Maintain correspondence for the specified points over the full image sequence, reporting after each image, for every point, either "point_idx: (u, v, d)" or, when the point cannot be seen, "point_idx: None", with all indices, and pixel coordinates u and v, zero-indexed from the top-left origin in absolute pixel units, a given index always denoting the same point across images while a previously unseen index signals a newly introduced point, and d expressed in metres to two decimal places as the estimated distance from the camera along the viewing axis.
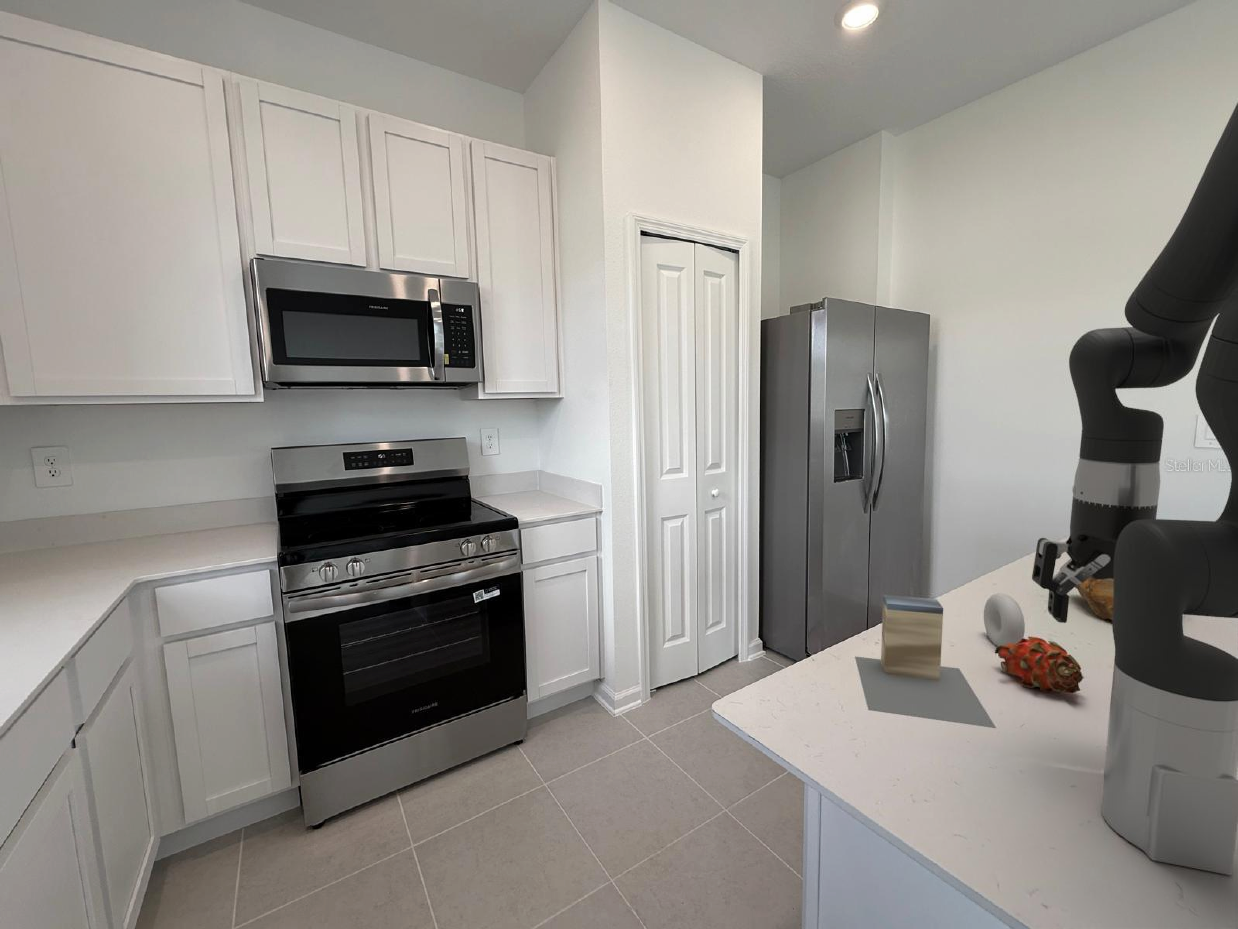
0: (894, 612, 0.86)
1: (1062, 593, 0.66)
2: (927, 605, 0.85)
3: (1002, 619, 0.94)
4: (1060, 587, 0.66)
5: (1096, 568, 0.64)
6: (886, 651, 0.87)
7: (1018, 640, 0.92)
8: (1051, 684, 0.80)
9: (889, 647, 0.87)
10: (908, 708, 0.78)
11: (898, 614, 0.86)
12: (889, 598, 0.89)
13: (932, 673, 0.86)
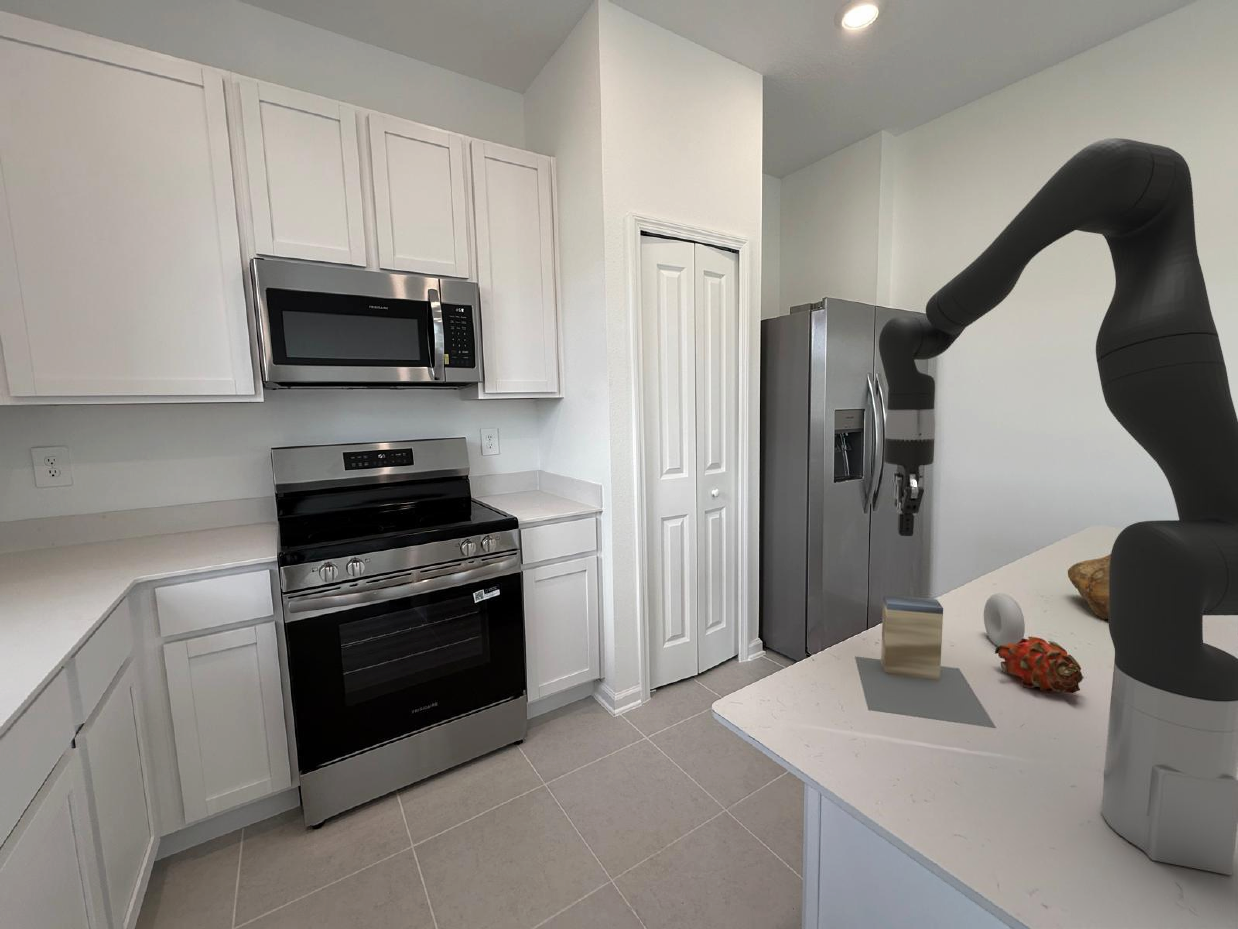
0: (894, 612, 0.86)
1: (915, 513, 0.91)
2: (927, 605, 0.85)
3: (1002, 619, 0.94)
4: None
5: None
6: (886, 651, 0.87)
7: (1018, 640, 0.92)
8: (1051, 684, 0.80)
9: (889, 647, 0.87)
10: (908, 708, 0.78)
11: (898, 614, 0.86)
12: (889, 598, 0.89)
13: (932, 673, 0.86)
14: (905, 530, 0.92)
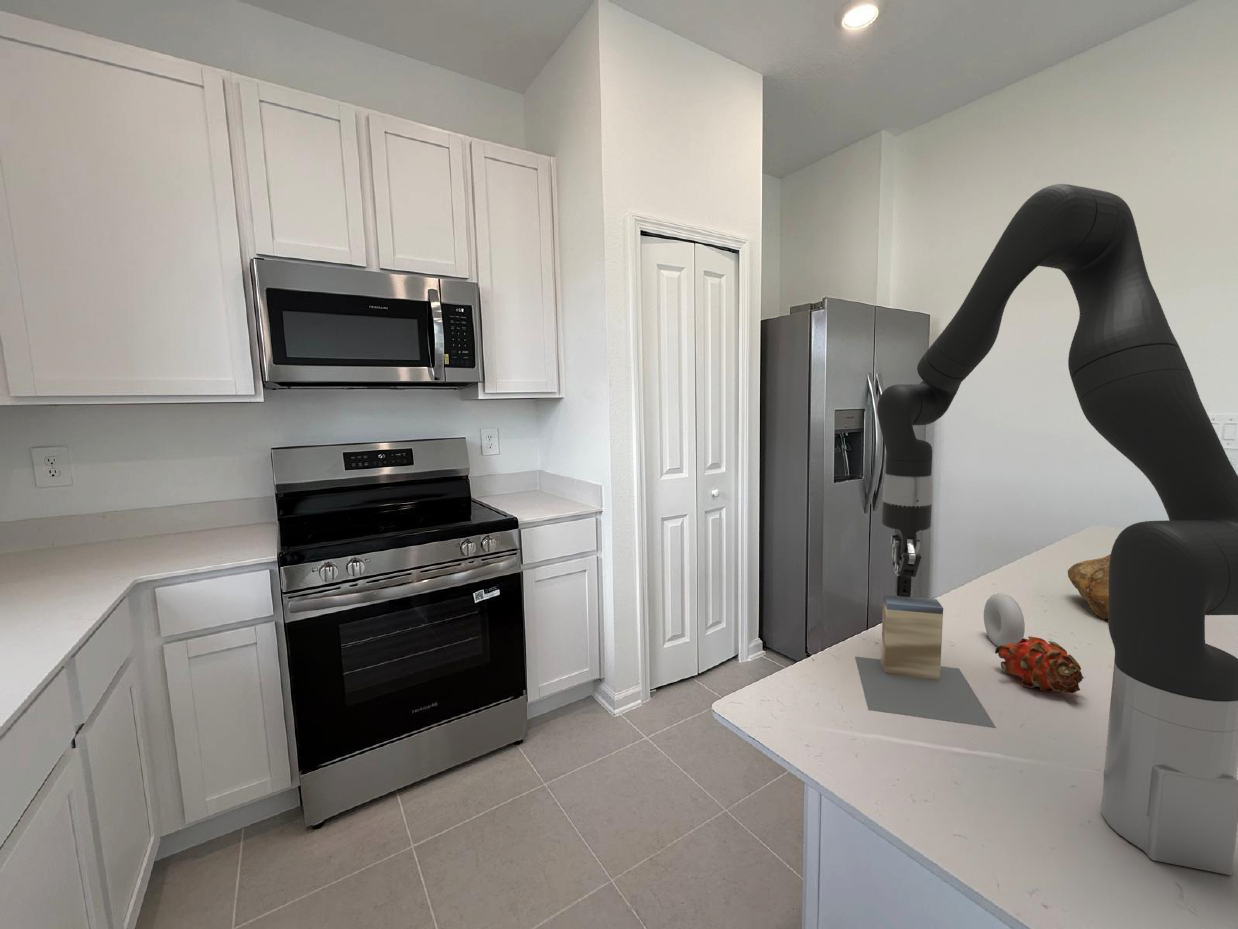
0: (894, 612, 0.86)
1: None
2: (927, 605, 0.85)
3: (1002, 619, 0.94)
4: None
5: None
6: (886, 651, 0.87)
7: (1018, 640, 0.92)
8: (1051, 684, 0.80)
9: (889, 647, 0.87)
10: (908, 708, 0.78)
11: (898, 614, 0.86)
12: (889, 598, 0.89)
13: (932, 673, 0.86)
14: (902, 592, 0.93)
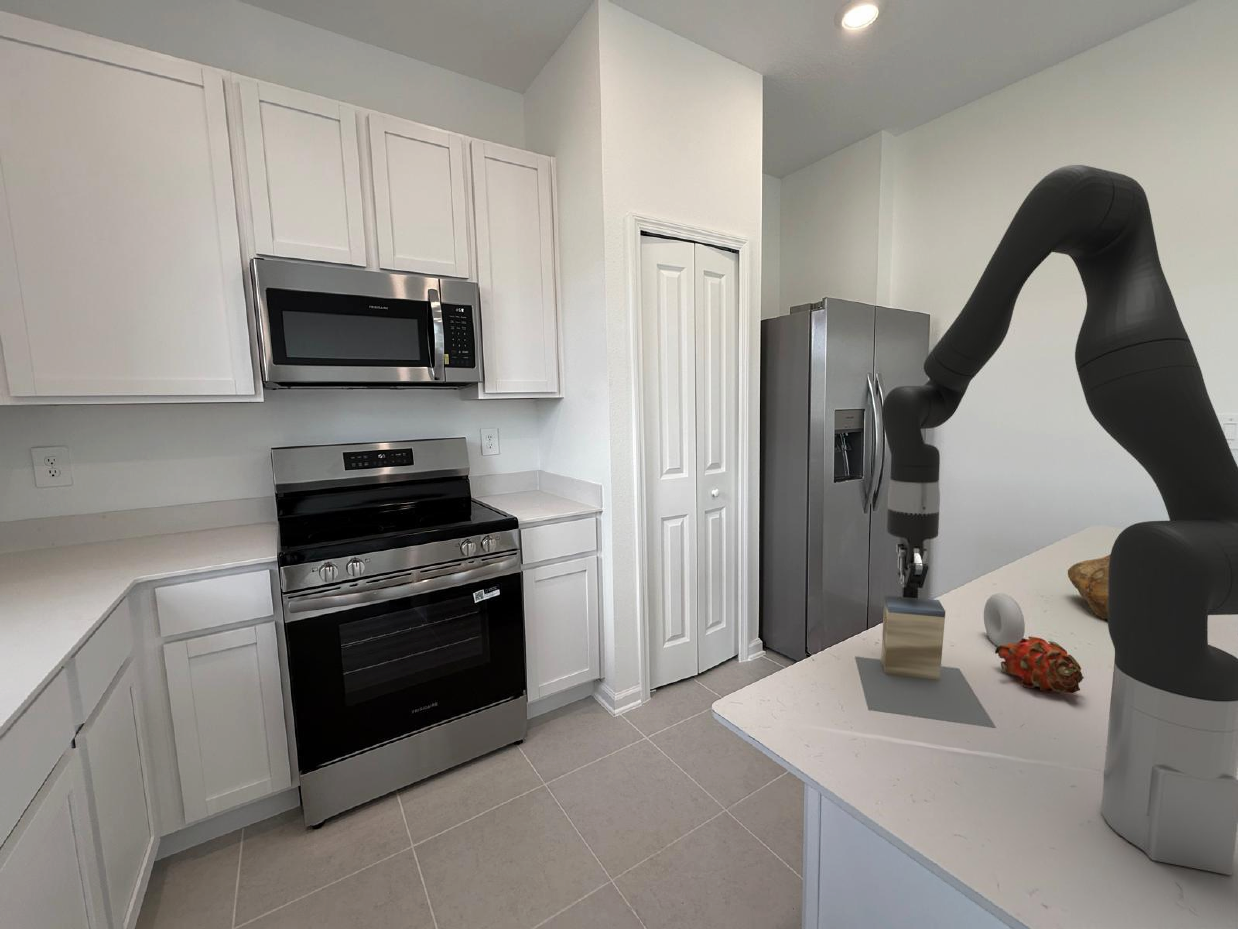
0: (895, 615, 0.85)
1: None
2: (929, 608, 0.84)
3: (1002, 619, 0.94)
4: None
5: None
6: (886, 652, 0.87)
7: (1018, 640, 0.92)
8: (1051, 684, 0.80)
9: (889, 648, 0.87)
10: (908, 708, 0.78)
11: (899, 617, 0.85)
12: (891, 600, 0.87)
13: (932, 674, 0.85)
14: None
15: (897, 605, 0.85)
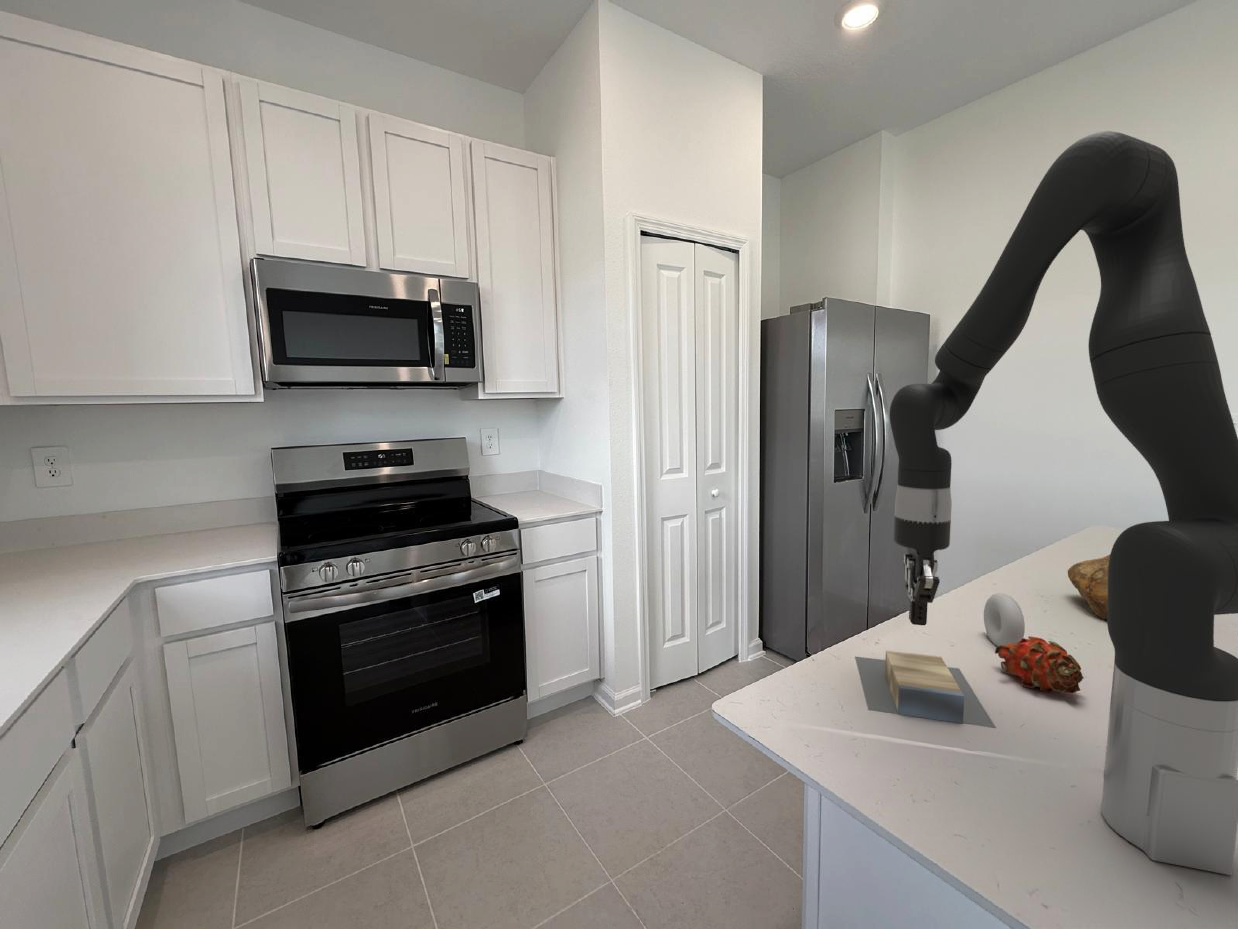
0: None
1: None
2: (946, 716, 0.74)
3: (1002, 619, 0.94)
4: None
5: None
6: None
7: (1018, 640, 0.92)
8: (1051, 684, 0.80)
9: None
10: None
11: None
12: (905, 699, 0.76)
13: None
14: (917, 619, 0.82)
15: (909, 711, 0.76)
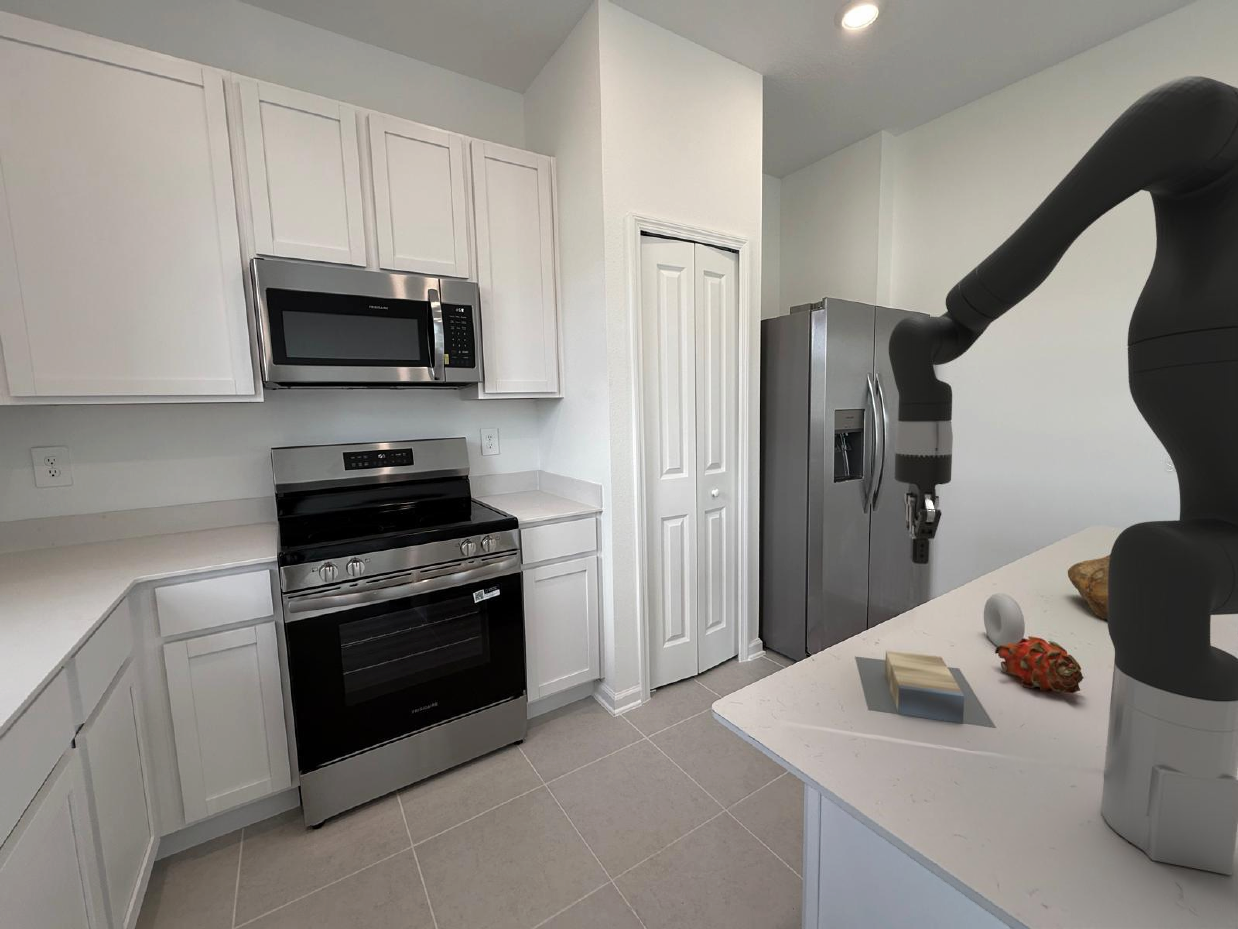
0: None
1: (930, 538, 0.81)
2: (946, 716, 0.74)
3: (1002, 619, 0.94)
4: None
5: None
6: None
7: (1018, 640, 0.92)
8: (1051, 684, 0.80)
9: None
10: None
11: None
12: (905, 699, 0.76)
13: None
14: (919, 557, 0.81)
15: (909, 711, 0.76)
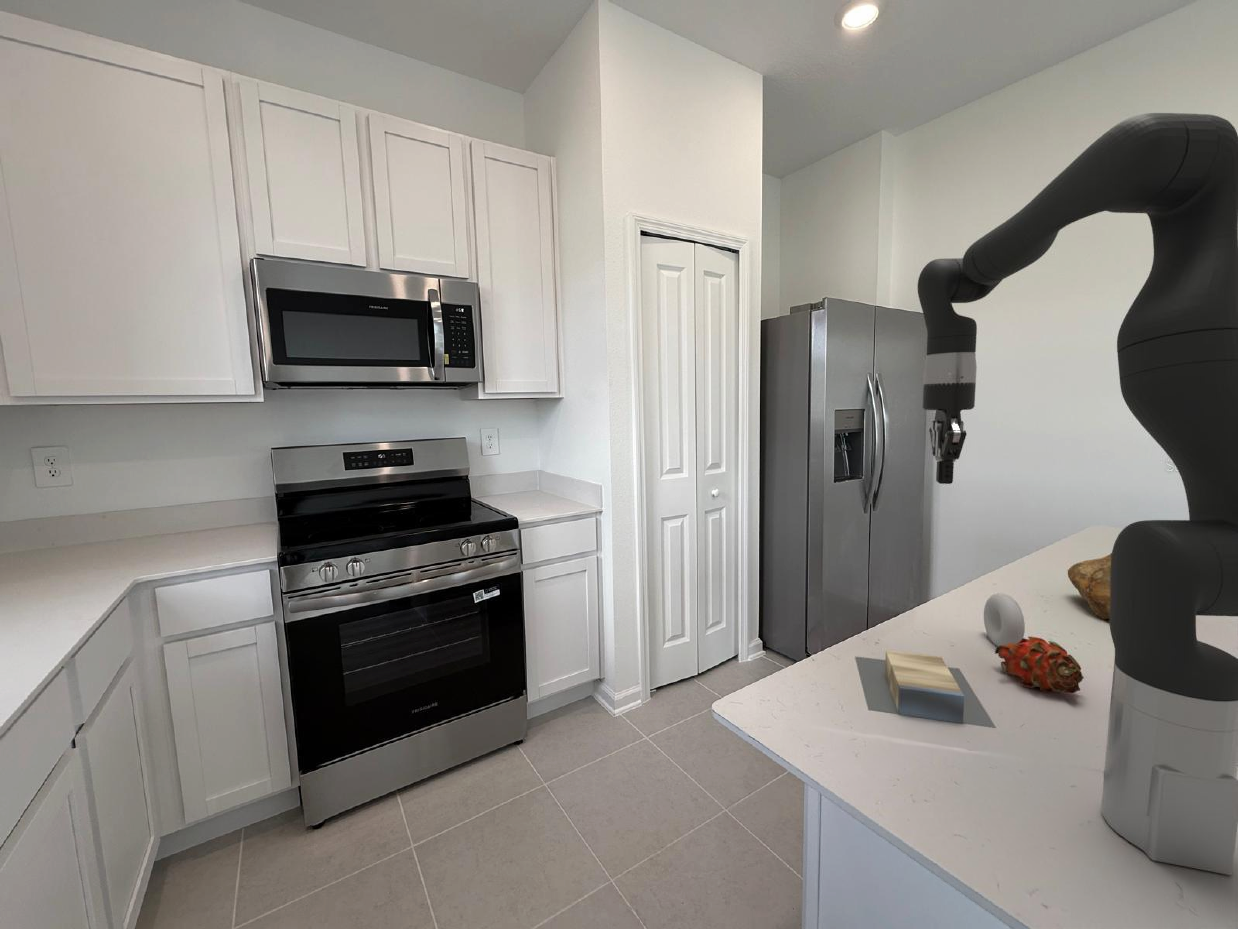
0: None
1: (954, 460, 0.90)
2: (946, 716, 0.74)
3: (1002, 619, 0.94)
4: None
5: None
6: None
7: (1018, 640, 0.92)
8: (1051, 684, 0.80)
9: None
10: None
11: None
12: (905, 699, 0.76)
13: None
14: (945, 477, 0.90)
15: (909, 711, 0.76)
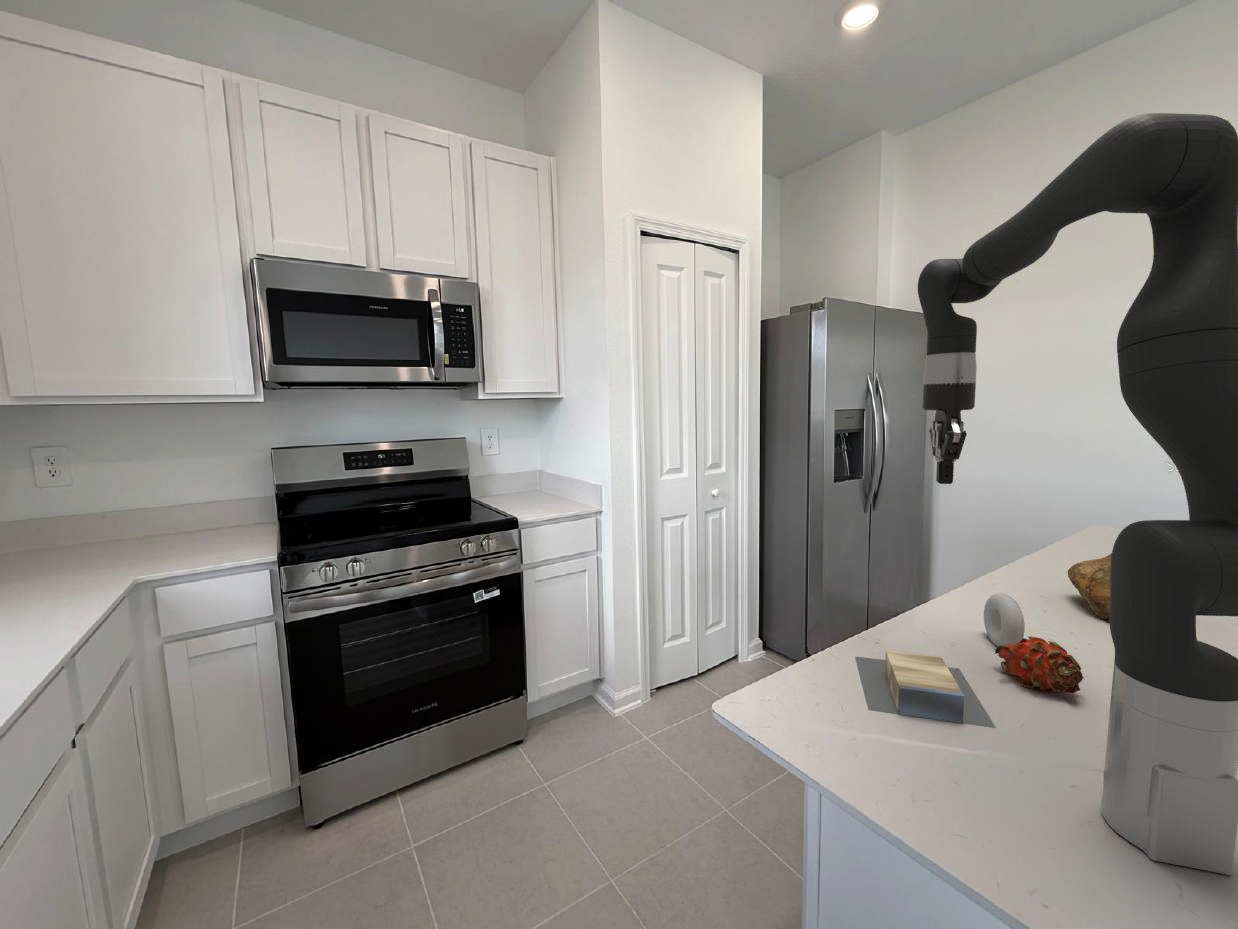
0: None
1: (954, 460, 0.90)
2: (946, 716, 0.74)
3: (1002, 619, 0.94)
4: None
5: None
6: None
7: (1018, 640, 0.92)
8: (1051, 684, 0.80)
9: None
10: None
11: None
12: (905, 699, 0.76)
13: None
14: (945, 477, 0.90)
15: (909, 711, 0.76)
